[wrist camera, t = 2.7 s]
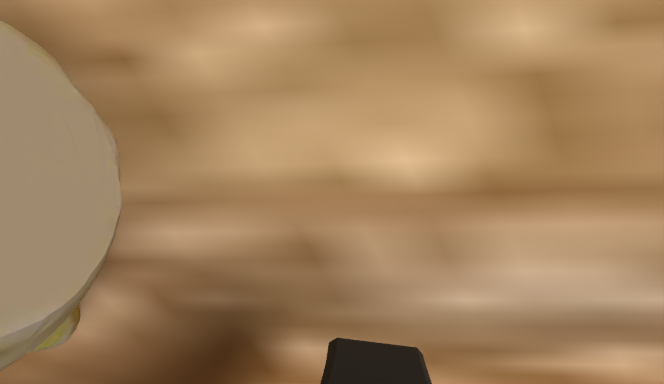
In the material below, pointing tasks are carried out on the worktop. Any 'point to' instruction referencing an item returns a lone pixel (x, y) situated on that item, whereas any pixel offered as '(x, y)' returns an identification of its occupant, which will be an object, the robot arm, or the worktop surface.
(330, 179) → the worktop surface
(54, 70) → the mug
